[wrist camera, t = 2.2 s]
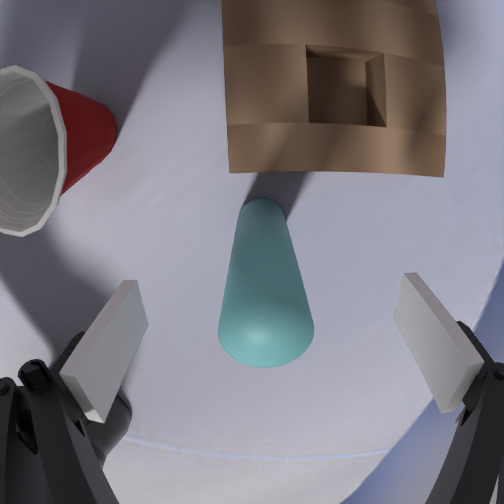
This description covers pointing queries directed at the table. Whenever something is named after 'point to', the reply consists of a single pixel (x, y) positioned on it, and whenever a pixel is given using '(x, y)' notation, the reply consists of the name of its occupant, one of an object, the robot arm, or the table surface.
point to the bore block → (334, 86)
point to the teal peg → (264, 292)
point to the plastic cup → (45, 146)
